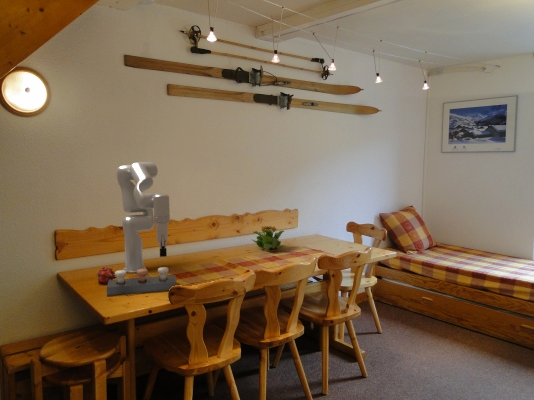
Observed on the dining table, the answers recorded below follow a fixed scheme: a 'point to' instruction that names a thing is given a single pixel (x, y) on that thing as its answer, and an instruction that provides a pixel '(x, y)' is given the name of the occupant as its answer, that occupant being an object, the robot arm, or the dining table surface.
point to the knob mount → (140, 285)
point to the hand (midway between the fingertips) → (163, 256)
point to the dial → (142, 274)
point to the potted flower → (269, 239)
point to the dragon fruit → (105, 275)
